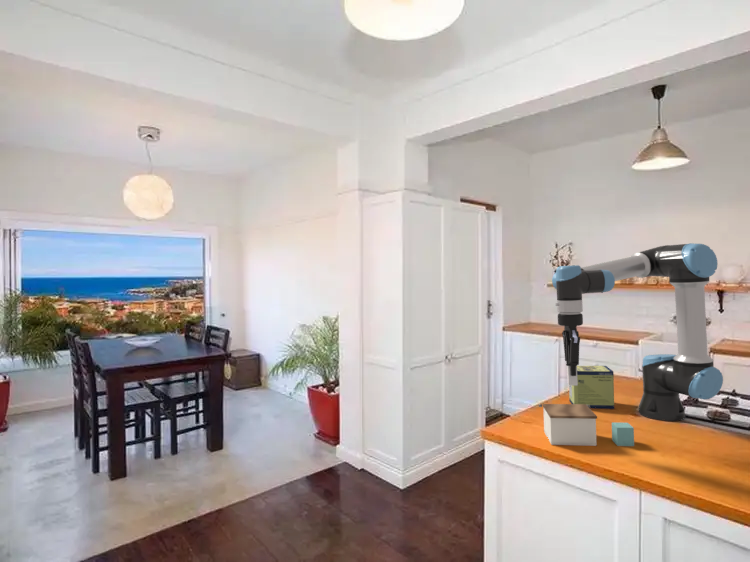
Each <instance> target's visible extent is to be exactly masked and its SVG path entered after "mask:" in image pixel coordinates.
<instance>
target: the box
mask: <svg viewBox="0 0 750 562" xmlns="http://www.w3.org/2000/svg"><path fill="white" fill-rule="evenodd" d="M587 406H588V407H590V405H587ZM538 407H539V408H543V432H544V434H545V436H546V438H547V437H548V438H547V439H549V440H548V442H549V443H550V444H551V445H552V446H553V445H554V446H593V447H594V446H595V447H597V423H596V422H597V419H581V418H550V417H549V415H548V414H547V412H546V410H545V409H544V407H543V403H541V404H540V403H539V404H538Z"/></svg>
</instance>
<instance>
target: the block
mask: <svg viewBox="0 0 750 562" xmlns="http://www.w3.org/2000/svg"><path fill="white" fill-rule="evenodd" d="M634 430H635V428H634V427H633V426H632V425H631V424H630V423H629V422H615V421H614V422H611V441H612V442H613V443H614V444H615V445H616V446H617V447H635V431H634Z"/></svg>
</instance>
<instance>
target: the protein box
mask: <svg viewBox="0 0 750 562" xmlns="http://www.w3.org/2000/svg"><path fill="white" fill-rule="evenodd" d="M614 373H615V372H614V371H613V370H612V369H611V368H610V367H609V366H607V365H577V381H578V385H572V386H569V385H568V389H569V390H568V393H569V395H568V397H569V400H568V401H569V402H570V404H586V405H590V407H589V408H590V409H597V410H598V409H600V410H601V409H602V410H614V409H615V391H614V390H615V388H614V387H615V381H614V379H615V378H614V376H615V374H614Z"/></svg>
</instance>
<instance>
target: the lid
mask: <svg viewBox="0 0 750 562" xmlns="http://www.w3.org/2000/svg"><path fill="white" fill-rule="evenodd" d="M543 407H544V409H545V410H546V412H547V414H548V415H549V417H550V418H581V419H596V420H597V419H598V416H597V414H595V412H594V411H593V410H592V408H589V407H588V406H587V405H586V404H571V403H570V404H569V403H542V408H543Z"/></svg>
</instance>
